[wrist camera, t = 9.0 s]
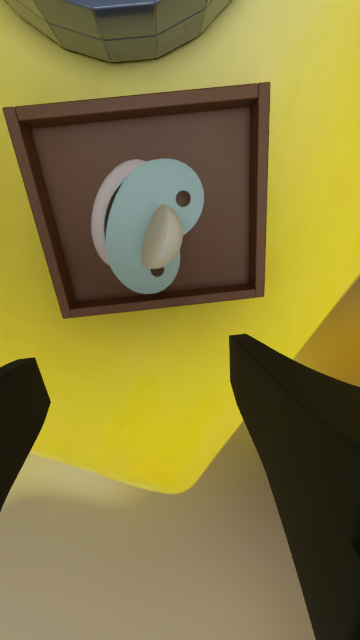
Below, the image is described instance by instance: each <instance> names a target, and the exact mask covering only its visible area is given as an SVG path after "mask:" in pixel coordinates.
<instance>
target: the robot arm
mask: <svg viewBox="0 0 360 640" xmlns="http://www.w3.org/2000/svg"><path fill="white" fill-rule="evenodd" d="M229 348H230V382H231V385H232V389H233V393H234V396H235V399H236V403H237V406H238V408H239V410H240V413H241V415H242V417H243V420H244V422H245V424H246V427H247V429H248V431H249V433H250V436H251V438H252V440H253V442H254V445H255V447H256V449H257V452H258V454H259V456H260V459H261V461H262V463H263V466H264V469H265V471H266V474H267V478H268V481H269V484H270V487H271V490H272V493H273V496H274V499H275V502H276V505H277V509H278V511H279V515H280V518H281V521H282V525H283V528H284V531H285V534H286V537H287V541H288V544H289V547H290V551H291V554H292V558H293V561H294V564H295V568H296V571H297V574H298V578H299V581H300V585H301V588H302V592H303V596H304V599H305V603H306V606H307V610H308V613H309V617H310V621H311V624H312V628H313V631H314V635H315V638H316V640H360V387H357V386H354V385H351V384H348V383H345V382H342V381H340V380H337V379H335V378H332V377H330V376H327V375H325V374H322V373H320V372H317V371H315V370H313V369H310V368H308V367H306V366H304V365H302V364H300V363H298V362H296V361H294V360H292V359H290V358H288V357H286V356H284V355H282V354H281V353H279V352H277V351H275V350H273V349H272V348H270V347H268V346H266V345H265V344H263V343H261V342H260V341H258V340H256V339H254V338H253V337H251V336H249V335H247V334H240V335H231V336H229ZM50 403H51V401H50V399H49V396H48V393H47V390H46V387H45V385H44V382H43V379H42V376H41V373H40V371H39V368H38V365H37V362H36V359H35V358H26V359H18V360H15V361H13V362H11V363H8V364H6V365H4V366H2V367H0V511H1V508H2V506H3V504H4V501H5V499H6V497H7V495H8V493H9V491H10V489H11V487H12V485H13V483H14V481H15V479H16V477H17V475H18V473H19V471H20V470H21V468H22V466H23V464H24V462H25V460H26V458H27V456H28V454H29V452H30V450H31V448H32V446H33V444H34V442H35V440H36V439H37V437H38V435H39V433H40V430H41V428H42V426H43V423H44V421H45V418H46V415H47V412H48V409H49V406H50Z"/></svg>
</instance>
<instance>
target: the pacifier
mask: <svg viewBox="0 0 360 640" xmlns="http://www.w3.org/2000/svg"><path fill="white" fill-rule="evenodd" d="M119 188H120V189H119ZM118 189H119V191H118V193H117V194H116V196H115V199H114V202H113V204H112V207H111V210H110V214H109V218H108V223H107V228H106V218H107V213H108V208H109V206H110V203H111V200H112V198H113V197H114V195H115V193H116V192H117V190H118ZM183 190H184V191H187V192H188V193H189V194H190V199H191V200H190V203H189V204H188V205H187V206H185V207H180V206H179V205H178V204H177V203H176V195H177V193H178V192H180V191H183ZM203 204H204V191H203V186H202V183H201V181H200V179H199V177H198V175H197V174H196V173H195V172H194V171H193V169H192V168H190V167H189V166H188V165H186V164H185V163H182V162H180V161H178V160H174V159H156V160H151V161H148V162H147V161H143V160H139V159H134V160H129V161H125V162H123V163H122V164H120V165H118V166H117V167H115V168H114V169H113V170H112V171H111V173H110V174H109V175H108V176H107V177H106V178H105V180H104V182H103V183H102V185H101V187H100V188H99V190H98V193H97V196H96V199H95V201H94V205H93V211H92V217H91V233H92V238H93V243H94V246H95V248H96V251H97V253H98V255H99V256H100V258H101V259H102V260H103V261H104V262H105V263H106V264H107V265H109V266H110V267H111V269H112V271H113V272H114V274H115V275H116V277H117V278H118V279H119V280H120V281H121V282H122V283H123V284H124V285H125V286H126V287H128V288H129V289H131V290H132V291H135V292H138V293H142V294H153V293H158V292H160V291H162V290H164V289H165V288H166V287H168V286H169V285H170V284H171V283H172V282H173V280H174V278H175V277H176V275H177V272H178V269H179V266H180V247H181V244H182V239H183V235H185V234H186V233H187V232H188V231H189V230H190V229H192V227H193V226H194V225H195V224H196V222H197V220H198V219H199V217H200V215H201V212H202V209H203ZM162 267H164V272H163V274H162V275H160V276H154V275H153V274H152V273H151V270H150V269H158V268H162Z"/></svg>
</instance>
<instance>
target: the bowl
mask: <svg viewBox="0 0 360 640" xmlns="http://www.w3.org/2000/svg"><path fill="white" fill-rule="evenodd" d="M5 1H6V2H7V3H8V5H9V6H10V7H11V8H12V9H13V11H14V12H15V13H16V14H17V15H18V16H20V17H21V18H23V19H24V20H25V21H27V22H28V23H30V24H31V25H32V26H34V27H35V28H37V29H38V30H39V31H41V32H42V33H43V34H45V35H46V36H48V37H49V38H50V39H52V40H53V41H55V42H56V43H57V44H59V45H60V46H62V47H64V48H65V49H69V50H72V51H75V52H78V53H82V54H85V55H88V56H91V57H95V58H98V59H101V60H105V61H108V62H120V61H131V60H141V59H152V58H158V57H160V56H162V55H164V54H166V53H168V52H169V51H171V50H173V49H175V48H177V47H179V46H181V45H182V44H184V43H186V42H188V41H190V40H192V39H194V38H195V37H197V36H199V35H200V34H201V33H202V32H203V31H204V30H205V29H206V28H207V26H208V25H209V24H210V23H211V22H212V21H213V20H214V19H215V17H216V16H217V15H218V14H219V13H220V12H221V11H222V10H223V9H224V7H225V6H226V5H227V4H228V3H229V2H230V1H231V0H5Z"/></svg>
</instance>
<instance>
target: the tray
mask: <svg viewBox="0 0 360 640" xmlns="http://www.w3.org/2000/svg"><path fill="white" fill-rule="evenodd" d="M2 109H3V113H4V116H5V119H6V123H7V126H8V130H9V133H10V137H11V140H12V144H13V147H14V151H15V154H16V158H17V161H18V165H19V168H20V171H21V175H22V178H23V182H24V185H25V189H26V192H27V196H28V199H29V203H30V206H31V210H32V213H33V216H34V220H35V223H36V227H37V230H38V234H39V237H40V241H41V244H42V248H43V251H44V255H45V258H46V261H47V265H48V268H49V272H50V275H51V279H52V282H53V286H54V289H55V293H56V296H57V300H58V303H59V306H60V310H61V313H62V317H63V319H65V318H75V317H84V316H93V315H102V314H111V313H120V312H129V311H139V310H148V309H157V308H166V307H175V306H184V305H193V304H202V303H211V302H220V301H229V300H239V299H248V298H255V297H264V284H265V249H266V215H267V181H268V147H269V112H270V82H264V83H259V84H257V83H255V84H244V85H234V86H224V87H213V88H203V89H193V90H182V91H172V92H161V93H151V94H141V95H130V96H120V97H110V98H99V99H89V100H78V101H68V102H58V103H47V104H37V105H27V106H16V107H5V108H2ZM134 159H139V160H143V161H147V162H148V161H151V160H156V159H174V160H178V161H180V162H182V163H185V164H186V165H188V166H189V167H190V168H192V169H193V171H194V172H195V173H196V174H197V175H198V177H199V179H200V181H201V183H202V186H203V191H204V204H203V209H202V212H201V215H200V217H199V219H198V220H197V222H196V224H195V225H194V226H193V227H192V229H190V230H189V231H188V232H187V233H186V234H185V235H183V239H182V244H181V247H180V266H179V269H178V272H177V275H176V277H175V278H174V280H173V282H172V283H171V284H170V285H169V286H168V287H166V288H165V289H164V290H162V291H160V292H158V293H153V294H142V293H138V292H135V291H132V290H131V289H129V288H128V287H126V286H125V285H124V284H123V283H122V282H121V281H120V280H119V279H118V278H117V277H116V275H115V274H114V272H113V271H112V269H111V267H110V266H109V265H107V264H106V263H105V262H104V261H103V260H102V259H101V258H100V256H99V255H98V253H97V251H96V248H95V246H94V243H93V238H92V233H91V217H92V211H93V205H94V201H95V199H96V196H97V193H98V190H99V188H100V187H101V185H102V183H103V182H104V180H105V178H106V177H107V176H108V175H109V174H110V173H111V171H112V170H113V169H114V168H115V167H117V166H118V165H120V164H122V163H123V162H125V161H129V160H134ZM119 189H120V188H119ZM119 189H118V190H117V192H116V193H115V195H114V197H113V198H112V200H111V203H110V206H109V208H108V213H107V218H106V228H107V223H108V218H109V214H110V210H111V207H112V204H113V202H114V199H115V196H116V194H117V193H118V191H119ZM190 200H191V199H190V194H189V193H188V192H187V191H184V190H183V191H180V192H178V193H177V195H176V203H177V204H178V205H179V206H180V207H185V206H187V205H188V204H189V203H190ZM150 270H151V273H152V274H153V275H154V276H160V275H162V274H163V272H164V267H162V268H158V269H150Z"/></svg>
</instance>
